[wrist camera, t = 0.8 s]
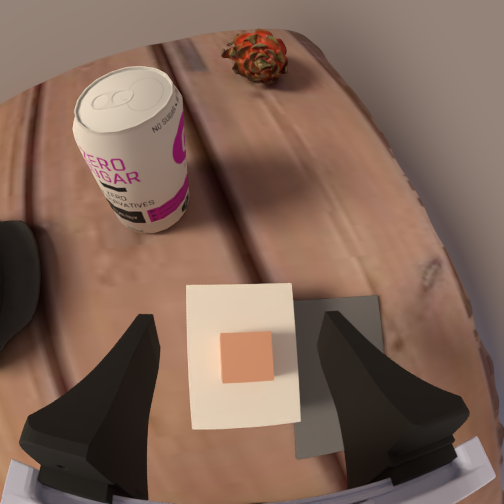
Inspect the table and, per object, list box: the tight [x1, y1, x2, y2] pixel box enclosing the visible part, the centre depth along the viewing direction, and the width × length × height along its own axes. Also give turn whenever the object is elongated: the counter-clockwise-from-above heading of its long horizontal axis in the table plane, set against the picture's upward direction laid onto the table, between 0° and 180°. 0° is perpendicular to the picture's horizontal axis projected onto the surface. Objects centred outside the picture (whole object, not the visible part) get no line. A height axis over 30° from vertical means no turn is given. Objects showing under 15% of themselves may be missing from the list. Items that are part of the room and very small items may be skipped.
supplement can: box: [73, 66, 190, 233], centre depth 23 cm, size 8×8×15 cm
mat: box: [293, 295, 384, 460], centre depth 27 cm, size 16×10×1 cm, turn 3°
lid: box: [186, 283, 301, 429], centre depth 21 cm, size 11×8×4 cm
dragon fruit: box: [221, 29, 288, 84], centre depth 37 cm, size 8×8×12 cm
